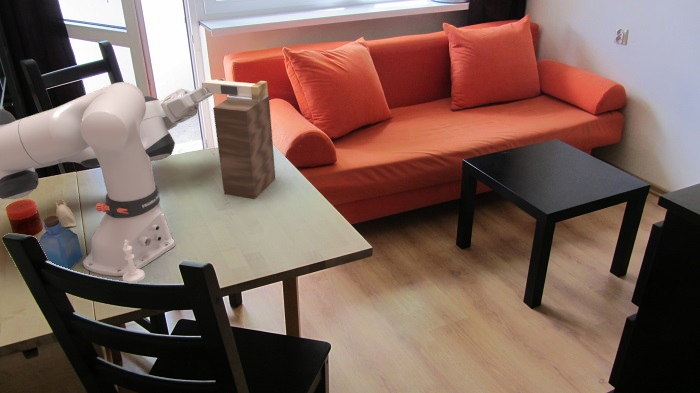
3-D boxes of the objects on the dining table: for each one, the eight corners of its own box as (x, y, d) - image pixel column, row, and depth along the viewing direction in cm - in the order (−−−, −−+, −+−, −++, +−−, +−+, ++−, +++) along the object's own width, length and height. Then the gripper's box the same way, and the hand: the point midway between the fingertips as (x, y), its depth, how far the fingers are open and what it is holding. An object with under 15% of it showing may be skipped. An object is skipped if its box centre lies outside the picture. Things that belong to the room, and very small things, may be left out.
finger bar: (253, 97, 158) (252, 87, 157) (201, 92, 163) (200, 82, 161) (258, 94, 161) (257, 83, 160) (208, 89, 166) (206, 79, 164)
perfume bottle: (59, 254, 138) (46, 211, 133) (83, 256, 138) (71, 213, 132) (44, 269, 133) (30, 225, 127) (68, 271, 132) (55, 227, 127)
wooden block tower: (254, 198, 163) (244, 95, 149) (224, 194, 166) (211, 92, 151) (275, 178, 175) (267, 80, 160) (246, 174, 178) (236, 78, 163)
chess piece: (148, 271, 132) (140, 234, 127) (140, 284, 128) (132, 246, 123) (127, 270, 132) (119, 234, 127) (119, 283, 128) (110, 246, 123)
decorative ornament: (59, 230, 149) (54, 212, 146) (58, 216, 155) (53, 199, 153) (76, 227, 150) (71, 209, 148) (74, 213, 157) (70, 196, 154)
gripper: (207, 103, 179) (238, 85, 172) (169, 125, 161) (203, 105, 155) (196, 85, 177) (227, 66, 170) (156, 105, 160) (190, 85, 153)
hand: (215, 85), depth 162 cm, fingers open, 8 cm apart
